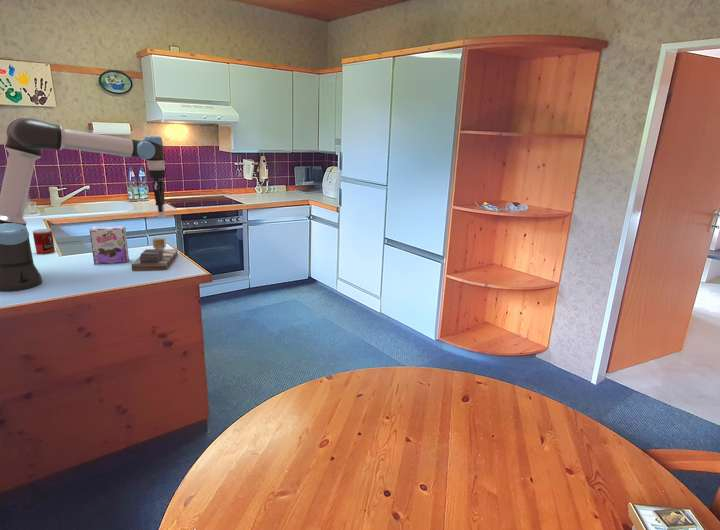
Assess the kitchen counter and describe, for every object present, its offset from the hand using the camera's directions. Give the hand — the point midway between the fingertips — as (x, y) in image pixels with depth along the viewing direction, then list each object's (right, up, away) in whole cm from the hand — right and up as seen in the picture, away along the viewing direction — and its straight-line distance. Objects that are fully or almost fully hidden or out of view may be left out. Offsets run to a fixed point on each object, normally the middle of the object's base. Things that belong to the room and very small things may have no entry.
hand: (162, 218), depth 224 cm
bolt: (+2, -17, -8) cm, 19 cm away
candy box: (-18, -22, -13) cm, 31 cm away
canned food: (-58, -17, +1) cm, 60 cm away
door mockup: (+3, -22, -12) cm, 25 cm away
